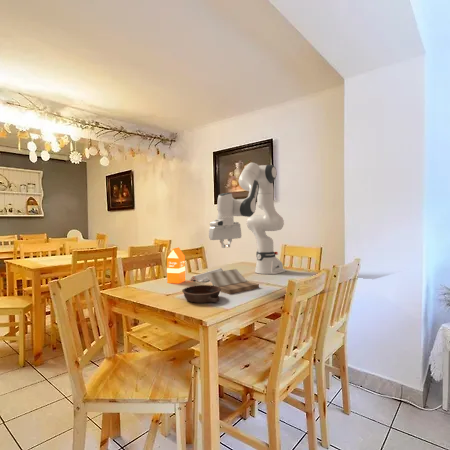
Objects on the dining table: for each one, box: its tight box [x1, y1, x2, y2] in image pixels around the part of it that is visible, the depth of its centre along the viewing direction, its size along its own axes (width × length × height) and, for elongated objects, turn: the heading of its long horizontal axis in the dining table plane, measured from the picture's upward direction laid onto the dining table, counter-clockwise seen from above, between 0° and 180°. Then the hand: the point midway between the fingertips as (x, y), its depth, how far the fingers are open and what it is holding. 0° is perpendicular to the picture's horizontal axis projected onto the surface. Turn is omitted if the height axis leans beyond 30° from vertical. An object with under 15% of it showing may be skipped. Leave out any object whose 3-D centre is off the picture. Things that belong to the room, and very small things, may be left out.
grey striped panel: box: [207, 268, 248, 287], centre depth 162 cm, size 20×11×2 cm, turn 127°
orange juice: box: [166, 247, 186, 284], centre depth 175 cm, size 8×9×20 cm
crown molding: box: [188, 267, 224, 283], centre depth 189 cm, size 31×12×4 cm, turn 150°
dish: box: [181, 284, 221, 304], centre depth 136 cm, size 18×22×5 cm
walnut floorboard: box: [219, 280, 260, 295], centre depth 154 cm, size 20×9×2 cm, turn 127°
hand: (225, 247), depth 162 cm, fingers closed
